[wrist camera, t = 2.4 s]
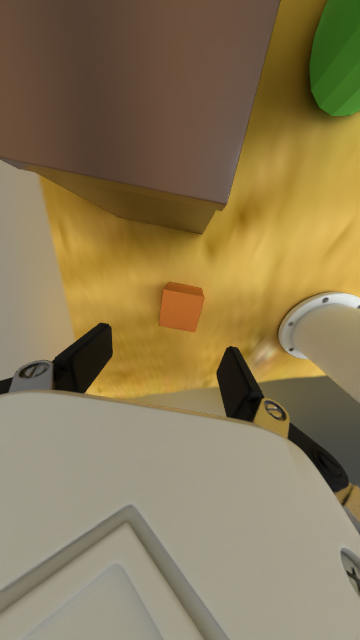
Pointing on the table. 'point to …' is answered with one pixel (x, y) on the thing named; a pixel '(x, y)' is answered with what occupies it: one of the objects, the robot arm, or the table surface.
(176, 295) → the cube
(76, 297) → the table surface
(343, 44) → the bottle
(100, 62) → the shelf
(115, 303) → the table surface
